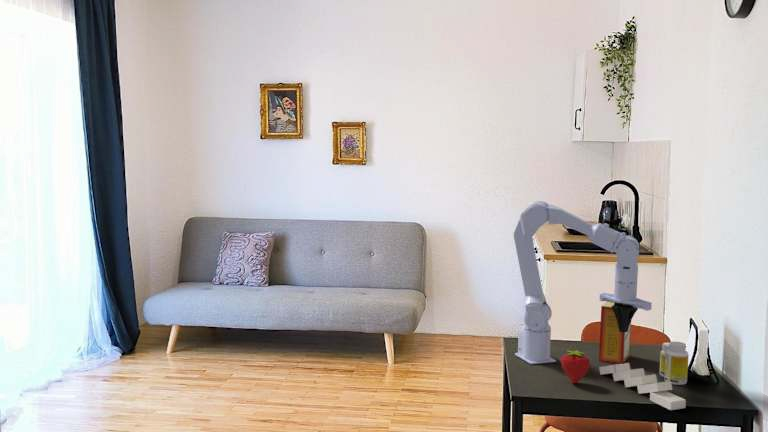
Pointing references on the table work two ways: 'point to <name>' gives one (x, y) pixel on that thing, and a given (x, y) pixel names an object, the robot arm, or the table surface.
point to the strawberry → (575, 365)
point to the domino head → (614, 368)
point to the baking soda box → (612, 337)
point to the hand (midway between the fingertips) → (623, 331)
